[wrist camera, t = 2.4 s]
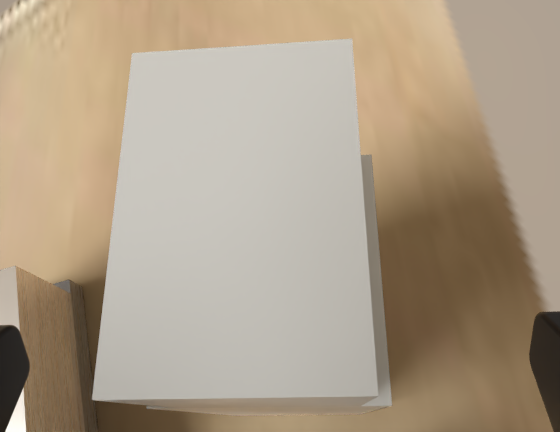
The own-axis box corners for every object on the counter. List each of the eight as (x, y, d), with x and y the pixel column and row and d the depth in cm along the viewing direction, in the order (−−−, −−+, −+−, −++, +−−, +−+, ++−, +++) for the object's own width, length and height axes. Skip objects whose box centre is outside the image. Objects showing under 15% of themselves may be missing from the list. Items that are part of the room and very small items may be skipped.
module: (360, 414, 17) (429, 395, 5) (236, 415, 17) (46, 399, 6) (352, 272, 18) (389, 27, 7) (239, 276, 19) (98, 46, 7)
